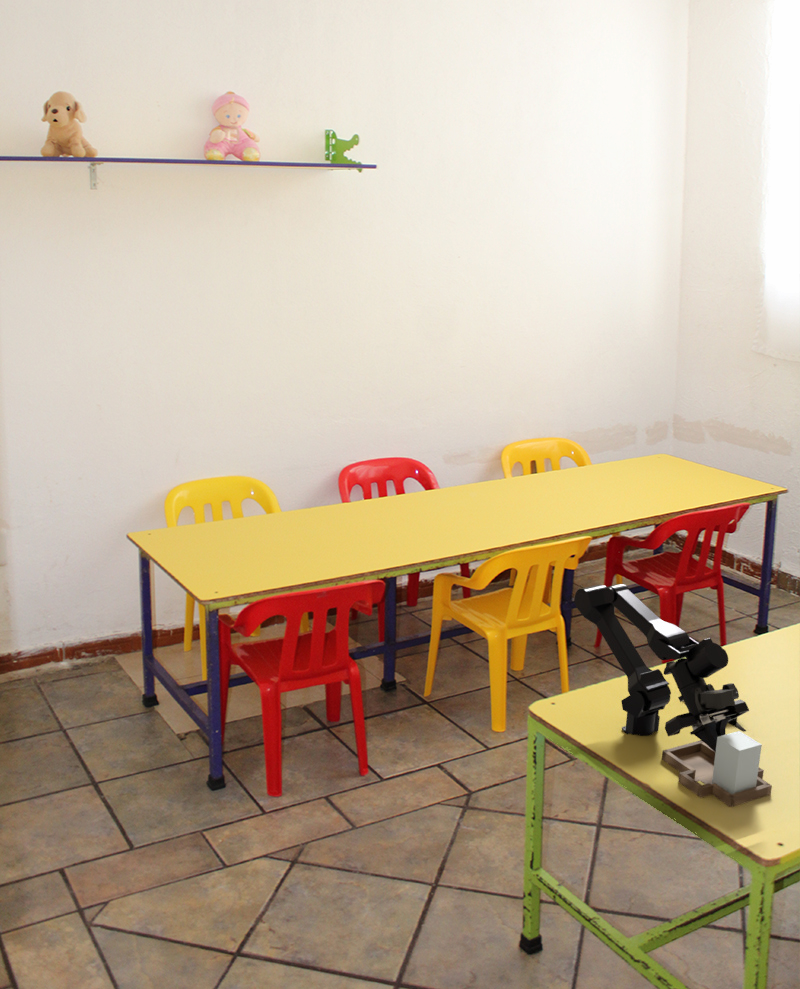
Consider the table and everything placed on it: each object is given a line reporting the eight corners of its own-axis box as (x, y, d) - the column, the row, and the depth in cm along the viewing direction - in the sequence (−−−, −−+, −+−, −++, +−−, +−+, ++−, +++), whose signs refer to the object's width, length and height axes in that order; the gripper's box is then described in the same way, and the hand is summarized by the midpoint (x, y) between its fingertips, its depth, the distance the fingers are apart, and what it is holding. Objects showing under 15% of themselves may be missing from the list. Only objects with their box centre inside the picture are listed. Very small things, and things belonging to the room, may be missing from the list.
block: (711, 784, 202) (717, 736, 199) (733, 778, 204) (739, 730, 201) (733, 799, 196) (739, 750, 194) (755, 793, 199) (761, 744, 196)
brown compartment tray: (650, 766, 210) (651, 753, 209) (709, 750, 218) (711, 737, 217) (718, 816, 193) (720, 801, 192) (780, 796, 200) (782, 782, 200)
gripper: (680, 680, 198) (713, 755, 191) (748, 664, 206) (782, 735, 200) (650, 699, 207) (681, 771, 200) (716, 683, 215) (748, 752, 208)
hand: (724, 757), depth 202 cm, fingers closed
